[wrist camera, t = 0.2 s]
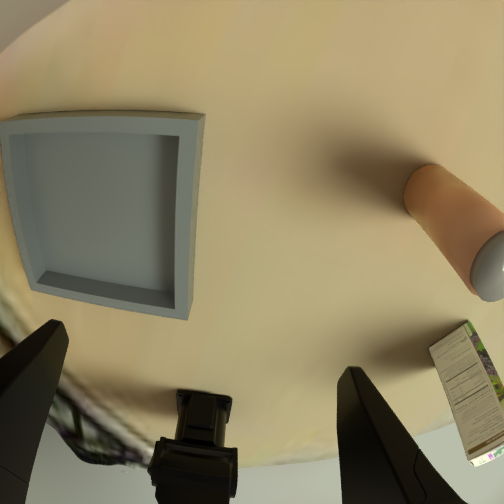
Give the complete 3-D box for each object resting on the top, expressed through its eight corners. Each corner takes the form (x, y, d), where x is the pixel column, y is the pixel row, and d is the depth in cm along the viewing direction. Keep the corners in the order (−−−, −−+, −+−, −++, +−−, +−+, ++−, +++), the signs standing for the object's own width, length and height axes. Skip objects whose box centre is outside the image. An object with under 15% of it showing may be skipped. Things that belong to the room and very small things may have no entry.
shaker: (442, 224, 22) (509, 306, 14) (395, 214, 22) (459, 303, 13) (460, 172, 20) (545, 240, 11) (413, 157, 20) (498, 225, 11)
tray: (192, 299, 27) (187, 320, 24) (43, 273, 26) (30, 289, 24) (205, 114, 19) (198, 120, 17) (19, 114, 18) (-1, 122, 16)
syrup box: (477, 342, 30) (523, 440, 18) (438, 367, 32) (474, 470, 20) (469, 318, 28) (524, 430, 16) (424, 348, 30) (467, 464, 18)
